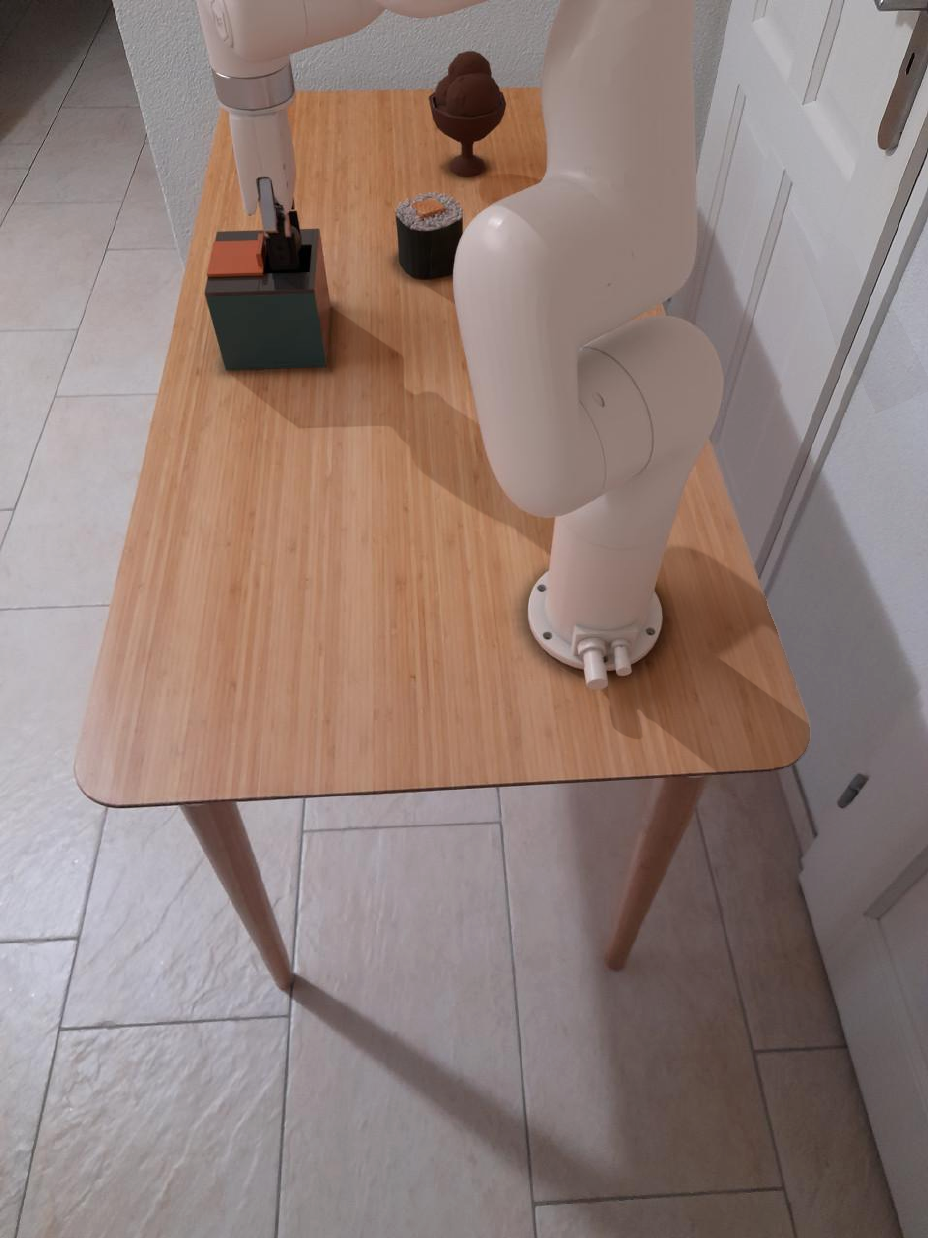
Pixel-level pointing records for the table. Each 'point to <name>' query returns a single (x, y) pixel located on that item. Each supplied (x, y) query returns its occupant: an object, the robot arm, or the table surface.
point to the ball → (297, 237)
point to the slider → (237, 258)
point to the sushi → (429, 235)
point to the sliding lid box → (273, 310)
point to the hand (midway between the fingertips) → (286, 255)
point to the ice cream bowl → (467, 108)
